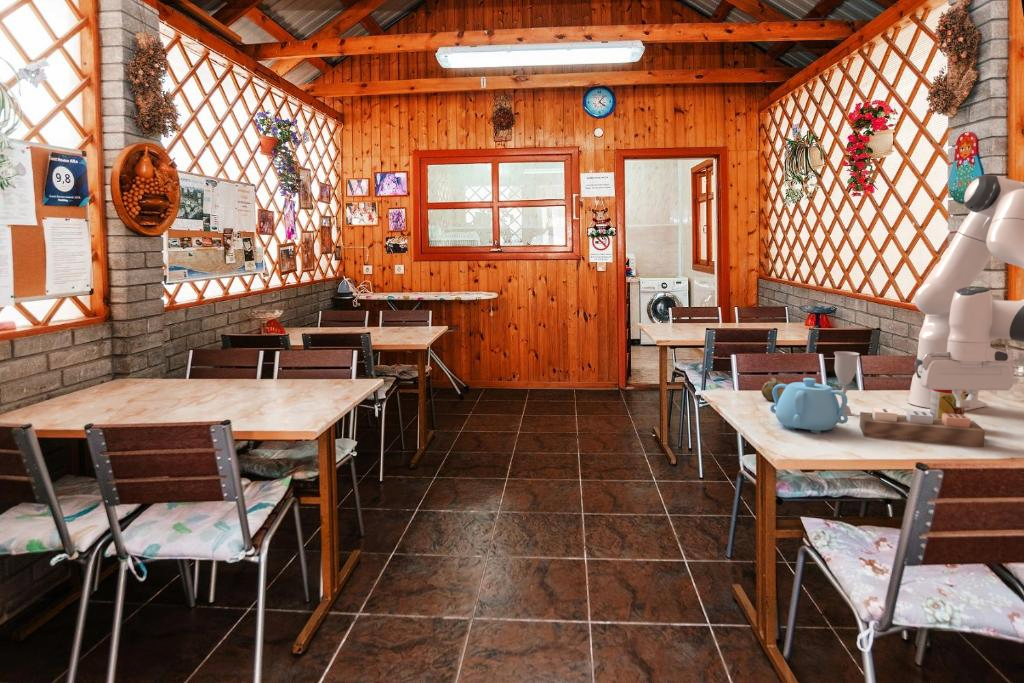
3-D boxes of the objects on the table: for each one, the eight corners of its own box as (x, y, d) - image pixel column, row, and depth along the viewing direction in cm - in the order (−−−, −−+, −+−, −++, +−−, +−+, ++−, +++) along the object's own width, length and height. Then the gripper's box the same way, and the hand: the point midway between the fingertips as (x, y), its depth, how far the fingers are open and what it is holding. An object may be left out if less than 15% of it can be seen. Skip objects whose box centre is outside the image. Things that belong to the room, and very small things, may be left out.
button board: (864, 436, 172) (865, 421, 172) (859, 426, 182) (860, 411, 182) (983, 447, 163) (985, 431, 162) (971, 435, 173) (973, 420, 172)
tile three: (945, 428, 168) (946, 416, 167) (941, 423, 172) (942, 412, 172) (969, 430, 166) (970, 418, 166) (964, 425, 170) (965, 414, 170)
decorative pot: (825, 421, 189) (827, 373, 187) (851, 435, 173) (854, 384, 171) (766, 420, 189) (768, 373, 188) (787, 435, 173) (790, 383, 172)
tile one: (874, 422, 174) (875, 411, 173) (872, 418, 178) (872, 407, 178) (896, 424, 172) (897, 413, 171) (893, 419, 176) (894, 408, 176)
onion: (791, 403, 211) (792, 378, 210) (766, 403, 211) (767, 378, 210) (782, 398, 218) (783, 374, 217) (757, 398, 219) (758, 374, 218)
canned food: (969, 429, 179) (973, 385, 178) (940, 429, 180) (943, 385, 178) (951, 422, 187) (954, 379, 186) (922, 421, 187) (926, 379, 186)
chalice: (858, 416, 193) (863, 355, 191) (833, 415, 194) (837, 354, 192) (851, 411, 200) (855, 351, 198) (827, 410, 201) (830, 351, 199)
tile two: (909, 425, 171) (910, 414, 170) (906, 420, 175) (907, 409, 175) (932, 427, 169) (933, 415, 168) (928, 422, 173) (929, 411, 173)
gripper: (929, 353, 164) (926, 409, 166) (1019, 354, 162) (1015, 410, 163) (917, 350, 170) (913, 403, 172) (1003, 351, 168) (999, 405, 170)
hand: (963, 407), depth 168 cm, fingers closed
